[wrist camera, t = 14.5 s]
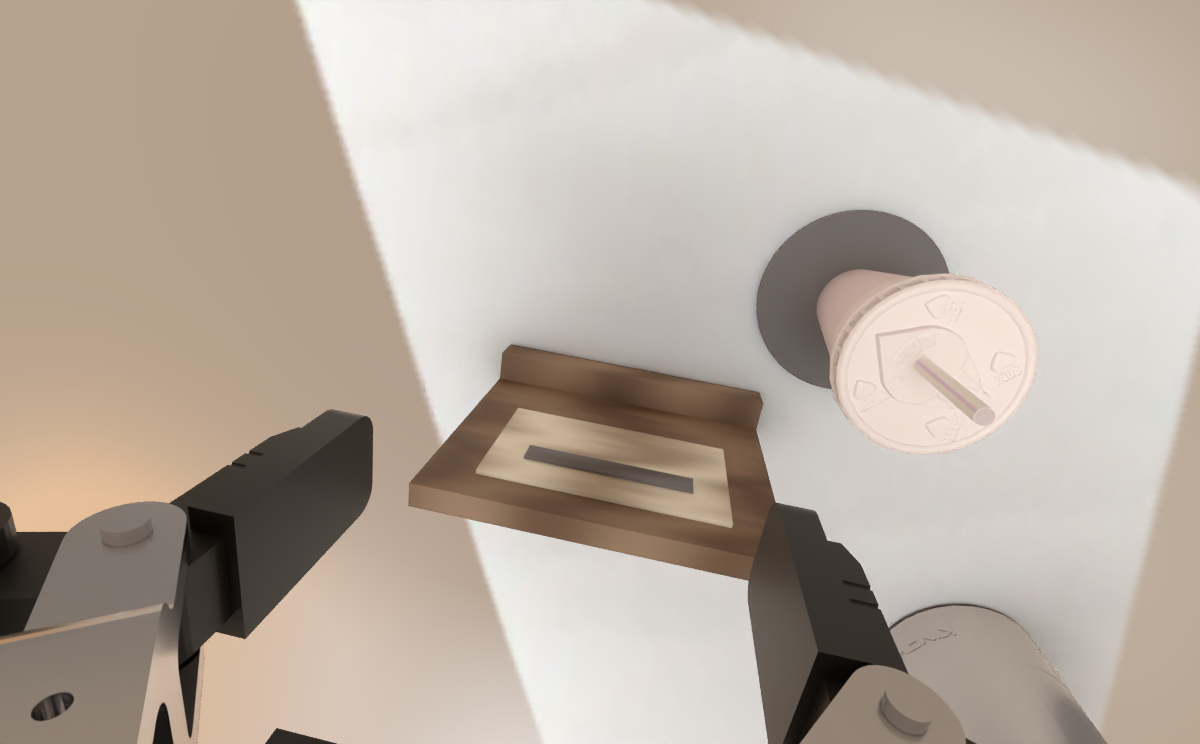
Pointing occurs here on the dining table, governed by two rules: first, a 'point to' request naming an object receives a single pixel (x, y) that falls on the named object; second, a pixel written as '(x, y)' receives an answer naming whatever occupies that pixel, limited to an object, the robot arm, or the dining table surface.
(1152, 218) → the dining table surface
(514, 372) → the placard
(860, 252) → the coaster
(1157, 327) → the dining table surface
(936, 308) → the smoothie
